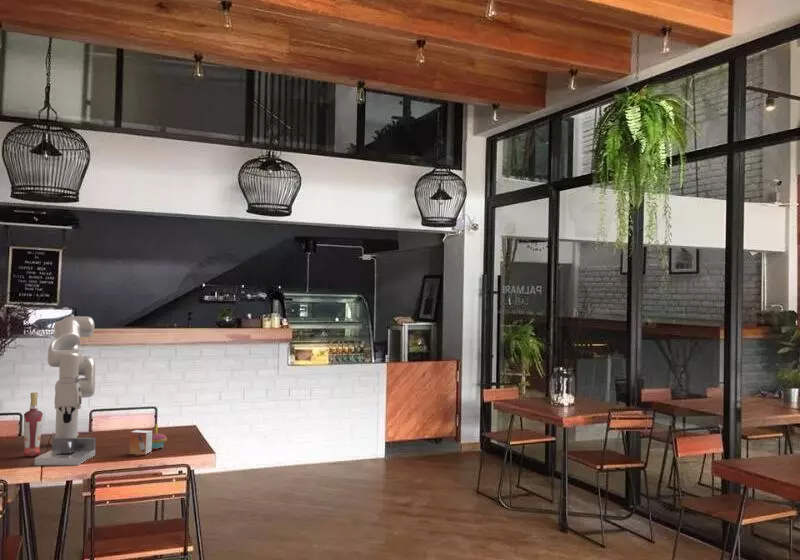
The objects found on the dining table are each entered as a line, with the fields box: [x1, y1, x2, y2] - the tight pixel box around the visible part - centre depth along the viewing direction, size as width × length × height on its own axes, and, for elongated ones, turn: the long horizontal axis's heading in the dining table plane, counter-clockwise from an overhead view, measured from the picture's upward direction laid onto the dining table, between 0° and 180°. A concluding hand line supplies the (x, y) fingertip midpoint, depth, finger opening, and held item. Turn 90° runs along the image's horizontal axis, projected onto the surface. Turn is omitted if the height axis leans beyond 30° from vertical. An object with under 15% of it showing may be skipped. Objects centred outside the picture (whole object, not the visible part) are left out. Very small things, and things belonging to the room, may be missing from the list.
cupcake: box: [152, 423, 168, 448], centre depth 317 cm, size 9×8×12 cm
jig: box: [34, 437, 97, 466], centre depth 291 cm, size 18×18×8 cm
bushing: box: [60, 441, 72, 455], centre depth 291 cm, size 4×4×8 cm
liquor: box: [22, 392, 44, 458], centre depth 298 cm, size 7×7×28 cm
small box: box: [128, 429, 153, 454], centre depth 305 cm, size 8×6×10 cm
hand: (67, 422), depth 292 cm, fingers closed
